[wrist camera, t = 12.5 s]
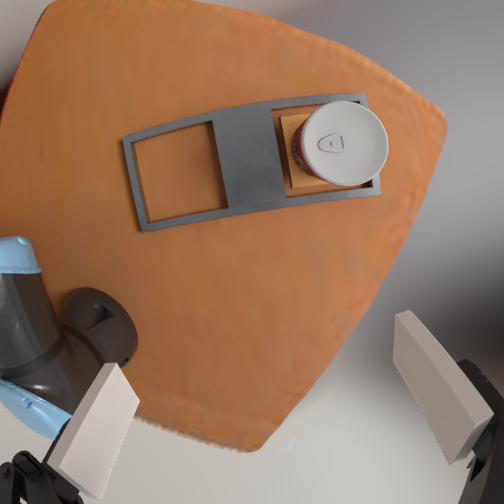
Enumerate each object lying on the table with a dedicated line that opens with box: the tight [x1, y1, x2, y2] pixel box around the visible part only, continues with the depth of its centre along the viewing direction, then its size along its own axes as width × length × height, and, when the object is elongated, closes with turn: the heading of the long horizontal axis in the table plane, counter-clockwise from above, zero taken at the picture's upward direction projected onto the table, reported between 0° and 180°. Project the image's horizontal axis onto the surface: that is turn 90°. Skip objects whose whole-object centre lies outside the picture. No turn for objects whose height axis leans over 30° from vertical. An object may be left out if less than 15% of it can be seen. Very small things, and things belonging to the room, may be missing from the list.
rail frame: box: [122, 93, 381, 233], centre depth 33 cm, size 31×13×1 cm, turn 100°
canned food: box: [291, 101, 389, 186], centre depth 27 cm, size 8×8×11 cm
